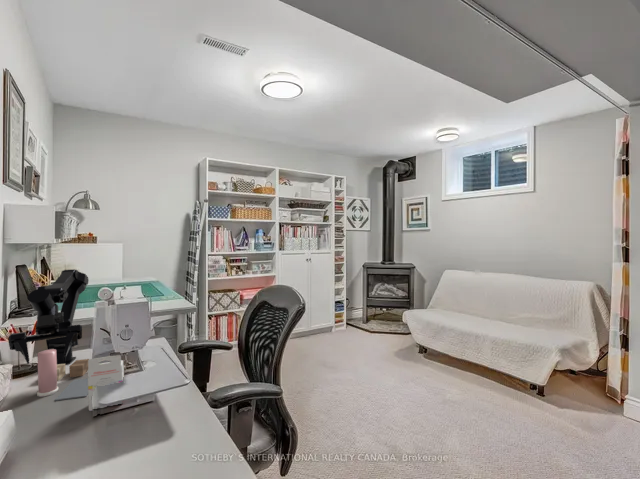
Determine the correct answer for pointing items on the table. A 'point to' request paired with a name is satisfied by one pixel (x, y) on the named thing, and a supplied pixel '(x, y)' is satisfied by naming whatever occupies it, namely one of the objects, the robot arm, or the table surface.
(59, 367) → the birch block
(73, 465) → the table surface
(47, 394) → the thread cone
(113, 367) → the ink cartridge box
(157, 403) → the table surface
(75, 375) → the walnut block
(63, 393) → the slate mat
